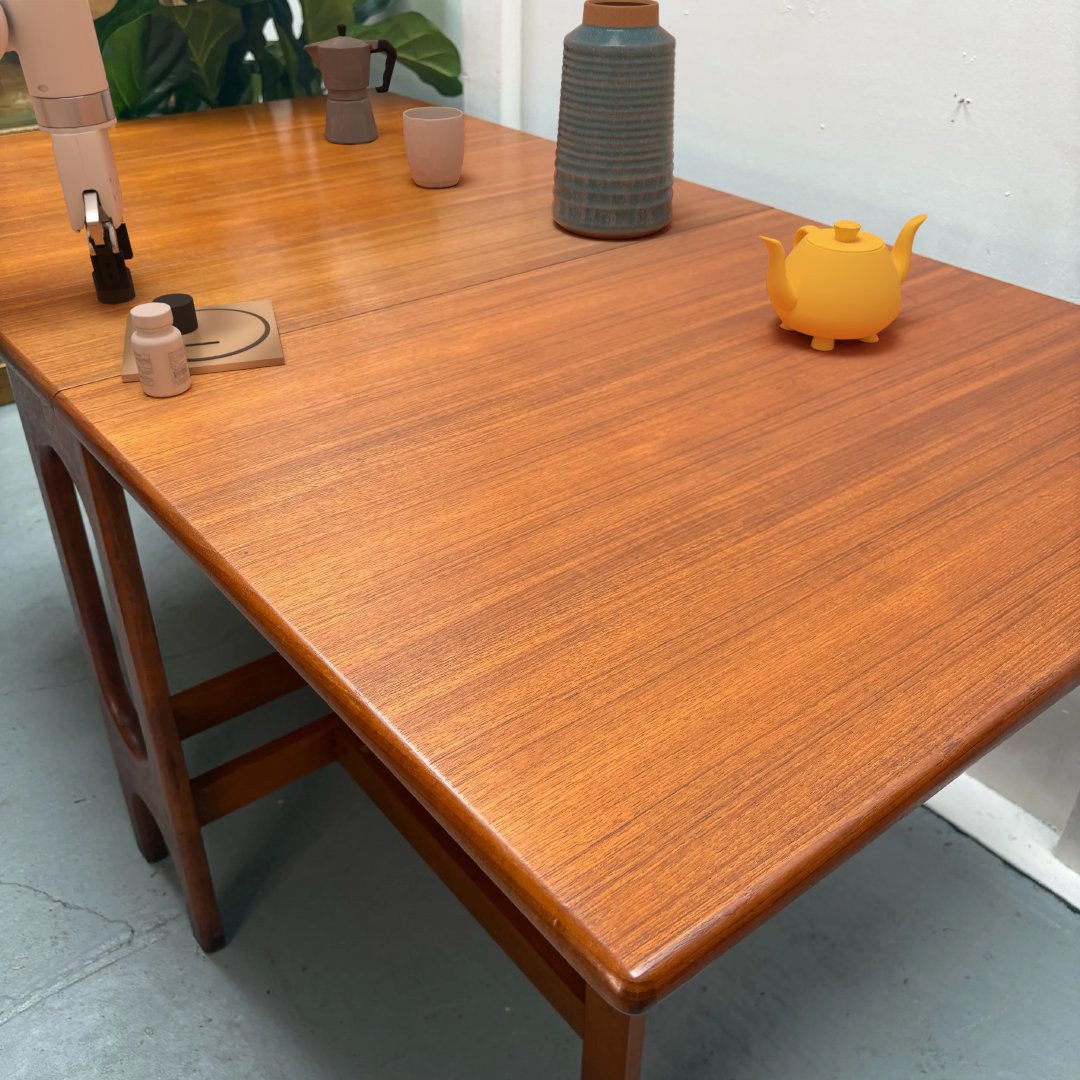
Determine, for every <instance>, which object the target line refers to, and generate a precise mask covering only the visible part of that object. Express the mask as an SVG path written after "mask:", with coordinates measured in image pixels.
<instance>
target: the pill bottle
mask: <svg viewBox="0 0 1080 1080" xmlns="http://www.w3.org/2000/svg"><path fill="white" fill-rule="evenodd" d="M130 313H131V318H132V323H133V327H134V328H135V329H136V331H135V332H134V333H133V334H132V337H131V343H132V347H133V351H134V356H135V360H136V365H137V369H138V373H139V377H140V381H139V382H140V385H141V389H142V391H143V392H144V393H145V394H146V395H148V396H150V397H153V398H166V397H167V398H168V397H173V396H177V395H180V394H182V393H184V392H186V391H188V390H189V389H190V387H191V385H192V379H191V375H190V374H189V369H188V364H187V359H186V354H185V349H184V345H183V340H182V335H181V332H180V331H179V330H178V329H177V328H176V327H174V326H171V325H172V324H173V316H172V312H171V308H170V306H169V305H167V304H165V303H152V302H147V303H141V304H138V305H135V306H134V307H132V308H131V309H130Z"/></svg>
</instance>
